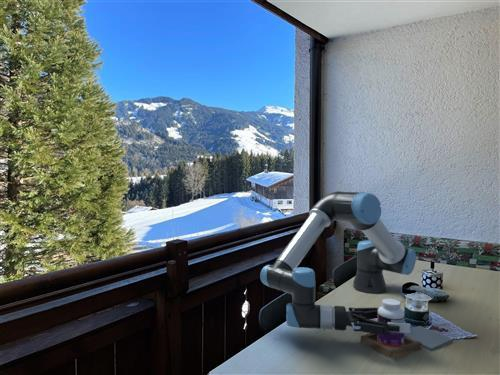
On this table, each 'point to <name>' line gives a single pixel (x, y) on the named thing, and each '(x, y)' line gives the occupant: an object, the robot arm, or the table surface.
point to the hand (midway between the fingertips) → (405, 321)
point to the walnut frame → (394, 354)
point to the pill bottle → (391, 314)
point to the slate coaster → (428, 338)
